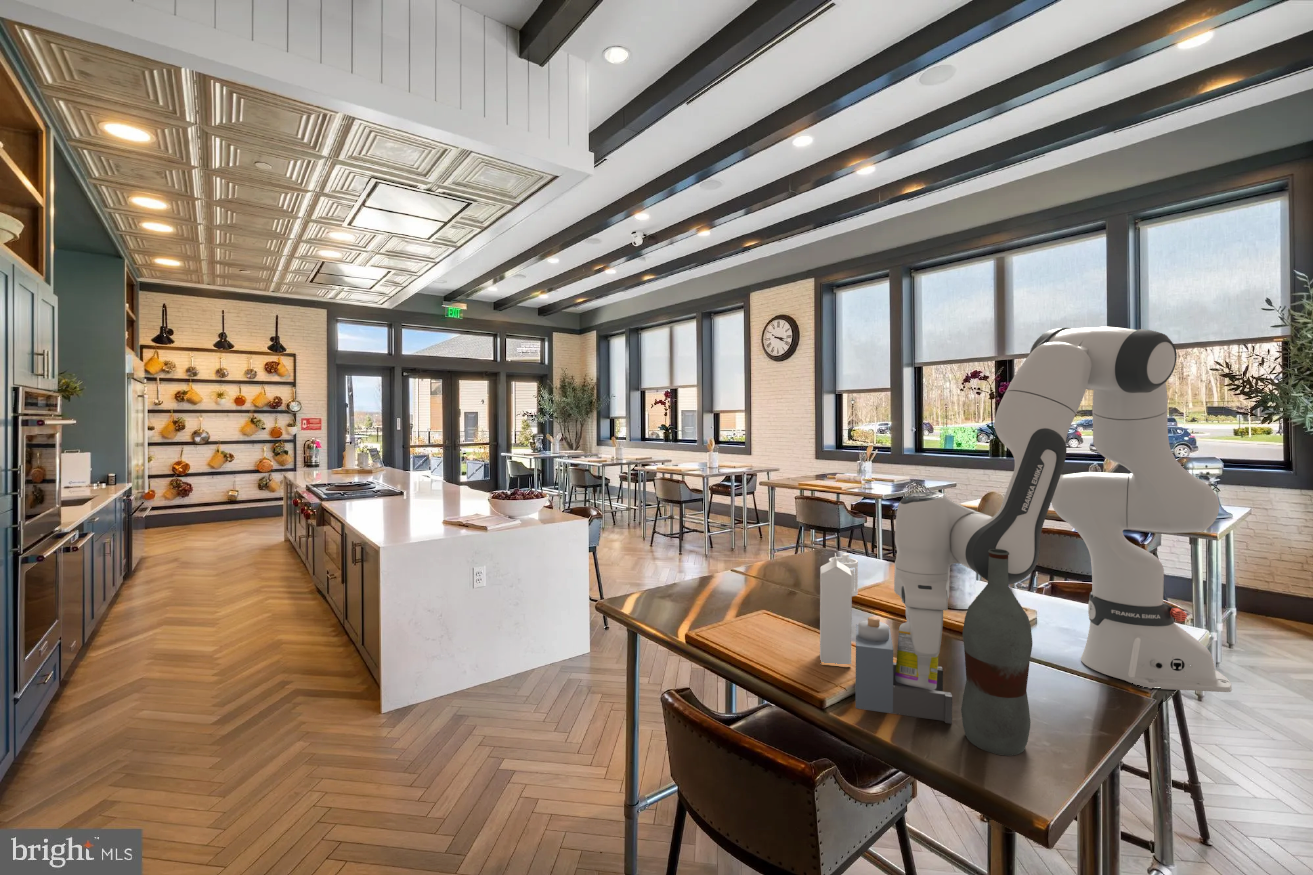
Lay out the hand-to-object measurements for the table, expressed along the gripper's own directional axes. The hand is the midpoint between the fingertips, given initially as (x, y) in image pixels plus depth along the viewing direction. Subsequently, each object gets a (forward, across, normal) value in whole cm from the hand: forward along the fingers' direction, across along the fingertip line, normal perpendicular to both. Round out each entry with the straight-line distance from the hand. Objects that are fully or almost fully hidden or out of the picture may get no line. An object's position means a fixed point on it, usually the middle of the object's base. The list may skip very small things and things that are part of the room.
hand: (920, 662), depth 104 cm
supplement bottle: (+4, +2, -1) cm, 4 cm away
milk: (+7, -14, -15) cm, 21 cm away
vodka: (+7, +10, +10) cm, 16 cm away
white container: (+7, -45, -14) cm, 47 cm away
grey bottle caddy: (+7, -1, -3) cm, 8 cm away
